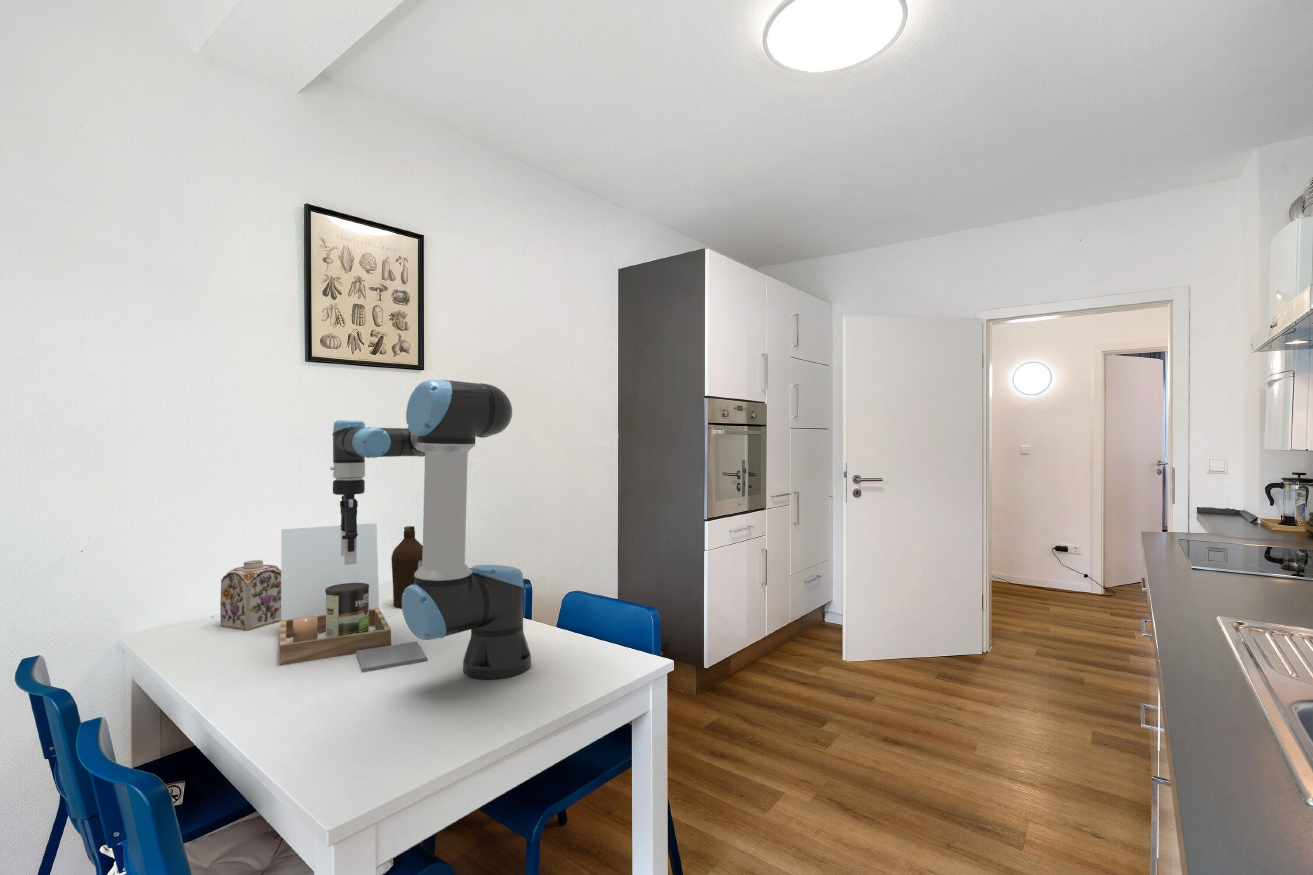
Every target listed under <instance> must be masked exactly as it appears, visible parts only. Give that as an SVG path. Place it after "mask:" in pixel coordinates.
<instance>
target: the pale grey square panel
mask: <svg viewBox="0 0 1313 875" xmlns="http://www.w3.org/2000/svg"><path fill="white" fill-rule="evenodd" d="M377 531H378V529H377V523H361V524H358V523H357V533H358V535H357V537H356V538H357V564H350V565H344V556H341V532H343V531H341V527H340V525H329V526H316V527H315V526H313V527H297V528H283V529H281V548H280V549H281V552H280V553H281V554H280V555H281V556H280V557H281V559H280V560H281V564H280V565H281V567H280V570H281V620H289V619H295V618H298V617H302V616H320V615H326V592H325V589H326V588H328V587H330V586H334V585H338V584H345V583H366V584H369V609H375V608H379V609H380V601H379V600H380V595H379V594H380V592H379V564H378V563H379V562H378V560H379V559H378V533H377Z"/></svg>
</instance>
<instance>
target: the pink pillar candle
mask: <svg viewBox="0 0 1313 875" xmlns="http://www.w3.org/2000/svg"><path fill="white" fill-rule="evenodd" d="M318 634H319V633H318V617H317V616H302V617H298V618H295V619H293V637H292V643H294V642H301V641H308V640H315V639H319V638H318Z"/></svg>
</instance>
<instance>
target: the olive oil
mask: <svg viewBox="0 0 1313 875" xmlns="http://www.w3.org/2000/svg"><path fill="white" fill-rule="evenodd" d="M403 529H404V531H403V539H401V542H400V543H398V545H397V546H395V548H394V549H393V550H392V554H391V559H390V560H391V573H392V574H391V575H392V576H391V577H392V578H391V579H392V596H393V597H392V598H393V599H392V600H393V601H392V602H393V607H394V608H397V609H402V595H403V593H404V590H405V589H406V588H407V587H409V586H410V585H414V573H415V572H416V571H417V570H418V569H419V568H420V567H421V566H422V556H423V544H422V543H421V542H419V540H418V539H416V530H415V529H416V528H415V526H414V525H413V526H412V525H407V526H404V528H403Z"/></svg>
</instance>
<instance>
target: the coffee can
mask: <svg viewBox="0 0 1313 875" xmlns="http://www.w3.org/2000/svg"><path fill="white" fill-rule="evenodd" d="M325 592H326V632H325V638H329V637H335V636H342V635H349V634H356V633H363V632H370V630H369V627H370V626H369V584H366V583H345V584H338V585H334V586H330V587H328V588H326V589H325Z"/></svg>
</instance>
